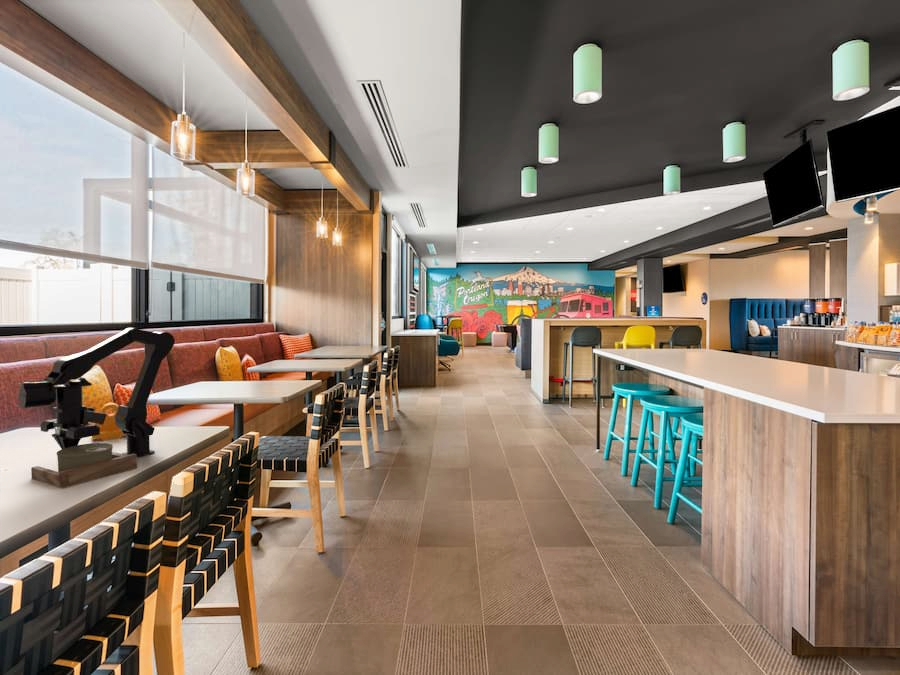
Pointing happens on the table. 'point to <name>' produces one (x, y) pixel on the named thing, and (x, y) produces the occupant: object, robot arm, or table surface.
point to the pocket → (85, 471)
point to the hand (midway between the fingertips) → (70, 458)
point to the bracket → (109, 425)
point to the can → (83, 455)
